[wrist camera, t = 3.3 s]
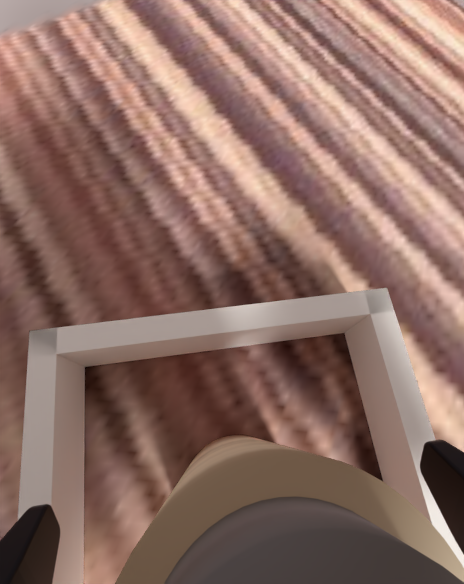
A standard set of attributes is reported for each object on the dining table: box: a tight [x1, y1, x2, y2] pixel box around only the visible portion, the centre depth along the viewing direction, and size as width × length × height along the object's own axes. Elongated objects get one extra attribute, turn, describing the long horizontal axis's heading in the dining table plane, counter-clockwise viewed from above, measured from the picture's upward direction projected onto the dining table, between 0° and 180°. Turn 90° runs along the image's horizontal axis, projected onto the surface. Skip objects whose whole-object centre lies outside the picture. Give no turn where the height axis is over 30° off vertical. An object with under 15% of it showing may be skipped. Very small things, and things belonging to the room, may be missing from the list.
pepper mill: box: [115, 435, 464, 584], centre depth 8 cm, size 5×5×12 cm
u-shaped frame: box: [18, 288, 464, 584], centre depth 13 cm, size 13×14×3 cm
